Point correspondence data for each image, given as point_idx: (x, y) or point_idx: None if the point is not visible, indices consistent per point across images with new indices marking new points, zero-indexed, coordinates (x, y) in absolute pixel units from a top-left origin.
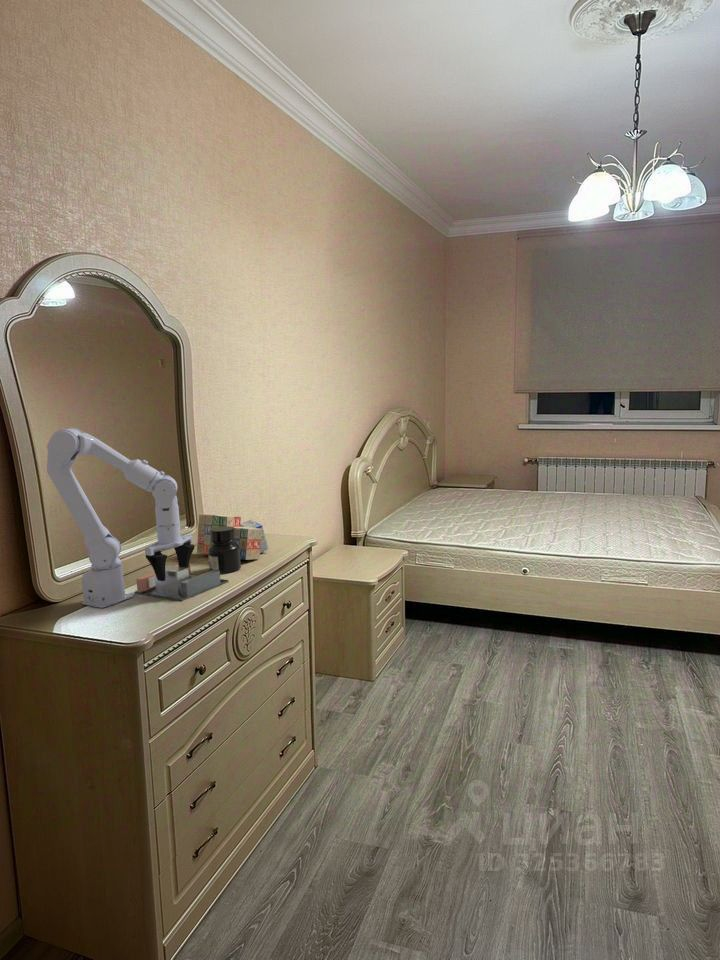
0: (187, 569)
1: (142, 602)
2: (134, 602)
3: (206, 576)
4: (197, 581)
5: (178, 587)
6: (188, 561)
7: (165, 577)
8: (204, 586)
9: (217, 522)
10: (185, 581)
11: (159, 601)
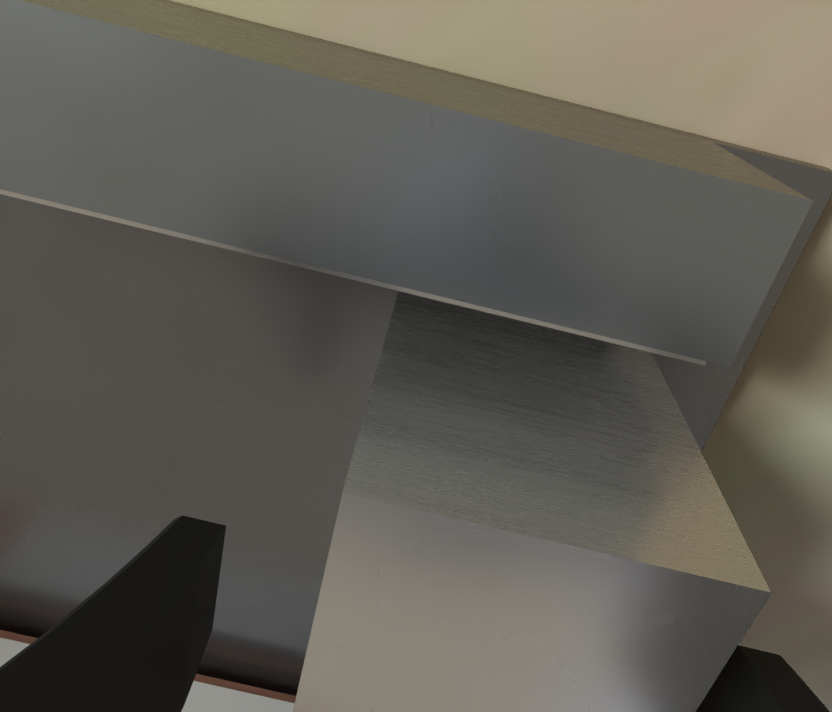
0: (374, 479)
1: (824, 625)
2: (815, 692)
3: (150, 28)
4: (457, 103)
5: (653, 379)
6: (36, 676)
7: (771, 687)
8: (297, 42)
9: None
10: (670, 292)
11: (802, 471)
